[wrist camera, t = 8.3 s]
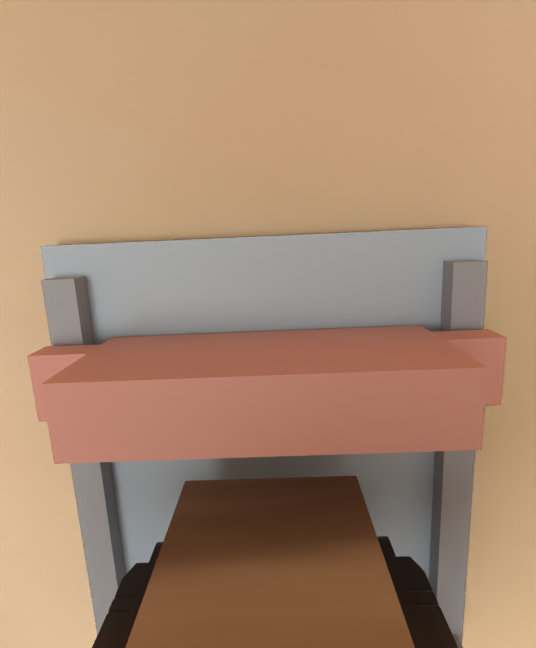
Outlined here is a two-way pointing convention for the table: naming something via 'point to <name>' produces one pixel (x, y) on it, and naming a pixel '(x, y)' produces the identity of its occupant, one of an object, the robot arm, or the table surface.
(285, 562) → the walnut block
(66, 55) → the table surface
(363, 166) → the table surface
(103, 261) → the vise base
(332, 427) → the bar
